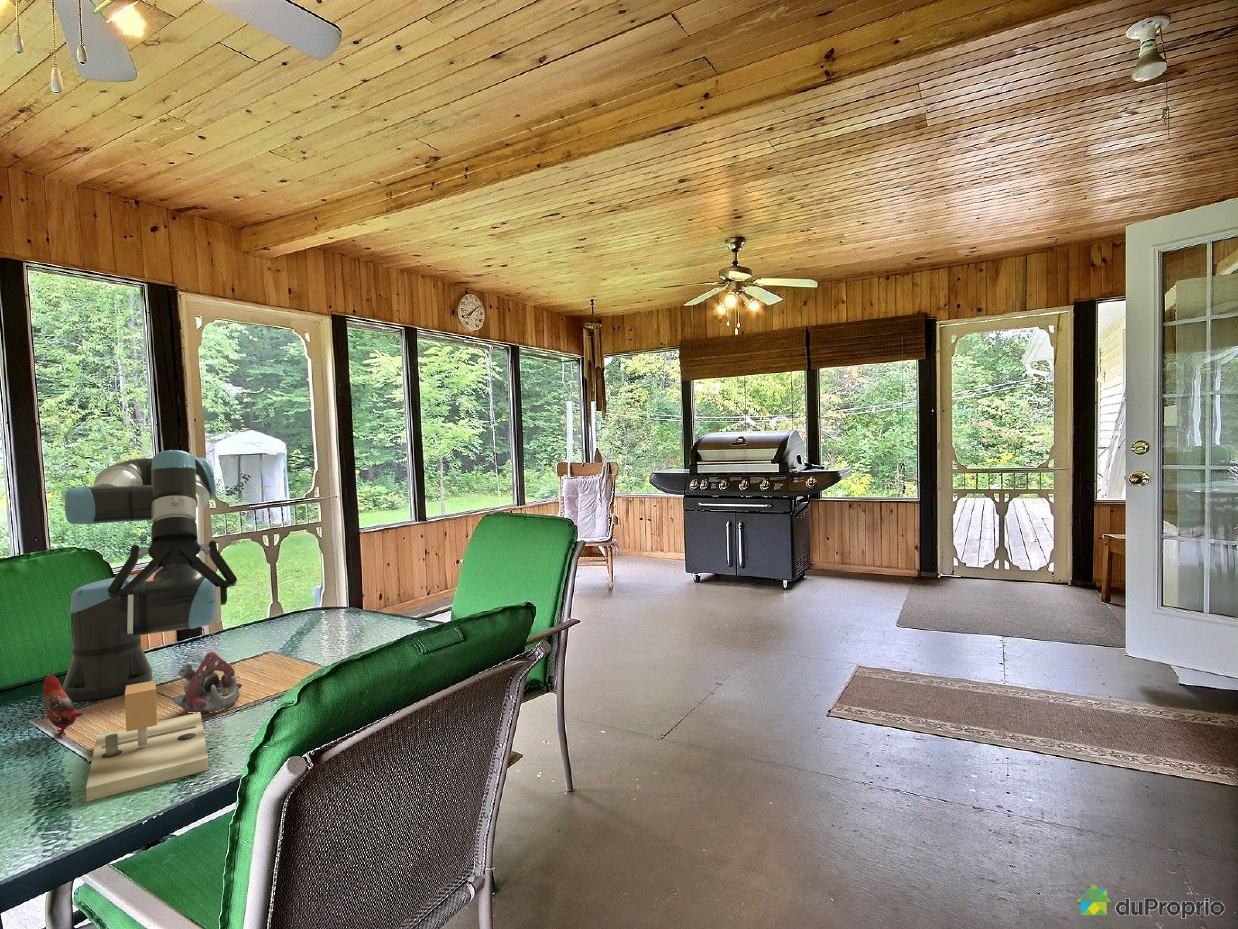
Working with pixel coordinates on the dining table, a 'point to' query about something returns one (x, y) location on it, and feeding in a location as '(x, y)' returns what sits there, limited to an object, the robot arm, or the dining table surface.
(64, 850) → the dining table surface
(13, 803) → the dining table surface
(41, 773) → the dining table surface
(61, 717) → the decorative bird figurine
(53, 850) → the dining table surface
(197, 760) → the wooden peg board
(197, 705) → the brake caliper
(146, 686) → the tan block on peg
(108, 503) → the robot arm
